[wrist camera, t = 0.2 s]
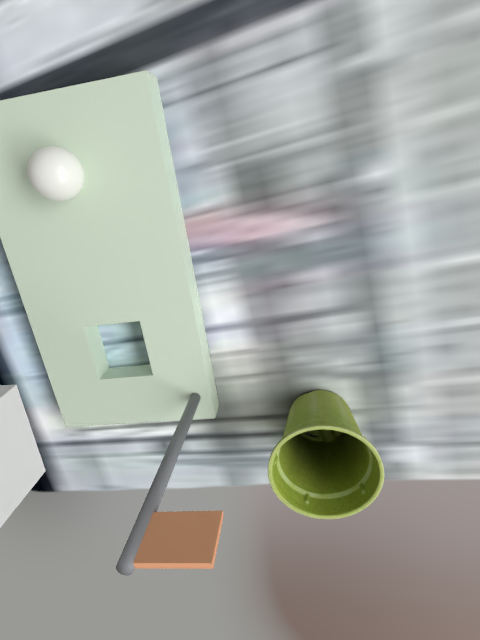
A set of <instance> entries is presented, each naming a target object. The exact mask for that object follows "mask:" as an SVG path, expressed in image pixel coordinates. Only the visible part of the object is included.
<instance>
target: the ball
mask: <svg viewBox="0 0 480 640" xmlns="http://www.w3.org/2000/svg"><path fill="white" fill-rule="evenodd" d="M27 172H28V178H29V181H30V183H31V185H32V186H33V188H34V189H35V190H36V191H37V192H38V193H39V194H40V195H42V196H43V197H45V198H47V199H50V200H53V201H66V200H70V199H72V198H74V197H75V196H76V195H78V193H79V192H80V191H81V189H82V187H83V185H84V170H83V167H82V165H81V163H80V161H79V160H78V158H77V157H76V156H75V155H74V154H72V153H71V152H70V151H68V150H66V149H64V148H62V147H57V146H46V147H43V148H41V149H39V150H37V151H36V152H35V153H34V154H33V155H32V156H31V158H30V160H29V162H28V167H27Z"/></svg>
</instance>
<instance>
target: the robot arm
mask: <svg viewBox="0 0 480 640" xmlns="http://www.w3.org/2000/svg"><path fill="white" fill-rule="evenodd" d="M44 472H45V468H44V465H43V462H42V459H41V456H40V453H39V450H38V447H37V444H36V441H35V438H34V435H33V432H32V430H31V427H30V424H29V421H28V418H27V415H26V412H25V409H24V406H23V403H22V400H21V397H20V394H19V391H18V388H17V385H0V527H1V526H2V525H3V524H4V522H5V521H6V520H7V519H8V517H9V516H10V514H12V512H13V511H14V510H15V508H16V507H17V506H18V505H19V504H20V502H21V501H22V500H23V499H24V497H25V496H26V495H27V493H28V492H29V491H30V490H31V488H32V487H33V486H34V485H35V483H36V482H37V481H38V480H39V478H40V477H41V476H42V475H43V473H44Z"/></svg>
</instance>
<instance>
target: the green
mask: <svg viewBox="0 0 480 640" xmlns="http://www.w3.org/2000/svg"><path fill="white" fill-rule="evenodd" d="M46 146H57V147H62V148H64V149H66V150H68V151H70V152H71V153H72V154H74V155H75V156H76V157H77V158H78V160H79V161H80V163H81V165H82V167H83V170H84V185H83V187H82V189H81V191H80V192H79V193H78V195H76V196H75V197H74V198H72V199H70V200H66V201H53V200H50V199H47V198H45V197H43V196H42V195H40V194H39V193H38V192H37V191H36V190H35V189H34V188H33V186H32V185H31V183H30V181H29V178H28V172H27V167H28V162H29V160H30V158H31V156H32V155H33V154H34V153H35V152H36V151H37V150H39V149H41V148H43V147H46ZM0 238H1V241H2V244H3V247H4V250H5V252H6V255H7V258H8V261H9V264H10V267H11V270H12V273H13V276H14V278H15V281H16V284H17V287H18V290H19V293H20V296H21V299H22V302H23V304H24V307H25V310H26V313H27V316H28V319H29V322H30V325H31V328H32V330H33V333H34V336H35V339H36V342H37V345H38V348H39V351H40V353H41V356H42V359H43V362H44V365H45V368H46V371H47V374H48V377H49V379H50V382H51V385H52V388H53V391H54V394H55V397H56V400H57V403H58V405H59V408H60V411H61V414H62V417H63V420H64V423H65V426H66V427H76V426H93V425H110V424H127V423H144V422H161V421H178V420H180V421H179V423H178V426H177V428H176V430H175V433H174V435H173V437H172V439H171V442H170V444H169V446H168V449H167V451H166V453H165V456H164V458H163V460H162V462H161V465H160V467H159V469H158V472H157V474H156V476H155V478H154V481H153V483H152V485H151V488H150V490H149V492H148V494H147V497H146V499H145V501H144V504H143V506H142V508H141V511H140V513H139V515H138V518H137V520H136V522H135V524H134V527H133V529H132V531H131V534H130V536H129V538H128V540H127V543H126V545H125V547H124V549H123V552H122V554H121V557H120V559H119V561H118V563H117V566H116V569H117V571H118V572H119V573H120V574H122V575H131V574H132V573H133V571H134V569H135V568H194V569H198V568H199V569H204V568H205V569H210V568H211V569H213V567H214V561H215V556H216V551H217V546H218V541H219V536H220V530H221V526H222V521H223V511H187V512H186V511H183V512H157V510H158V507H159V504H160V502H161V499H162V496H163V494H164V492H165V489H166V486H167V484H168V481H169V479H170V476H171V474H172V471H173V468H174V466H175V463H176V461H177V458H178V456H179V453H180V450H181V448H182V445H183V443H184V440H185V438H186V435H187V432H188V430H189V427H190V425H191V422H192V420H195V419H212V418H215V417H216V414H217V410H218V407H219V400H218V395H217V390H216V384H215V379H214V374H213V369H212V364H211V358H210V353H209V348H208V343H207V337H206V332H205V327H204V322H203V317H202V311H201V306H200V301H199V296H198V290H197V285H196V280H195V275H194V269H193V264H192V259H191V254H190V249H189V243H188V238H187V233H186V228H185V222H184V217H183V212H182V207H181V201H180V196H179V191H178V186H177V181H176V175H175V170H174V165H173V160H172V154H171V149H170V144H169V139H168V133H167V128H166V123H165V118H164V113H163V107H162V102H161V97H160V92H159V86H158V81H157V77H156V76H154V75H153V74H151V73H149V72H148V71H141V72H136V73H131V74H127V75H122V76H117V77H112V78H107V79H102V80H98V81H93V82H88V83H83V84H78V85H73V86H69V87H64V88H59V89H54V90H49V91H44V92H40V93H35V94H30V95H25V96H20V97H15V98H11V99H6V100H1V101H0ZM135 321H140V324H141V328H142V332H143V336H144V341H145V345H146V349H147V353H148V357H149V361H150V364H149V365H137V366H124V367H112V368H109V364H108V361H107V357H106V354H105V350H104V347H103V343H102V340H101V336H100V333H99V329H98V326H97V325H106V324H116V323H126V322H135Z"/></svg>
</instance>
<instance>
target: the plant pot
mask: <svg viewBox="0 0 480 640" xmlns="http://www.w3.org/2000/svg"><path fill="white" fill-rule="evenodd" d="M305 432H309V433H311V434H314V435H318V436H317V437H313V436H310V435H307V434H306V433H305ZM268 478H269V482H270V485H271V487H272V489H273V491H274V493H275V494H276V496H277V497H278V498H279V499H280V500H281V501H282V502H283V503H284V504H285V505H286V506H288V507H289V508H291V509H292V510H294V511H295V512H297V513H300V514H303V515H305V516H308V517H312V518H320V519H337V518H343V517H347V516H350V515H353V514H355V513H358V512H360V511H361V510H363V509H365V508H366V507H367V506H369V505H370V504H371V503H372V502H373V501H374V500H375V499H376V498H377V496H378V494H379V492H380V490H381V488H382V485H383V482H384V467H383V463H382V460H381V458H380V456H379V454H378V452H377V450H376V449H375V447H374V446H373V445H372V444H371V443H370V442H369V441H368V440H367V439H366V438H364V437H363V436H362V434H361V432H360V430H359V428H358V426H357V424H356V422H355V419H354V417H353V415H352V413H351V411H350V409H349V407H348V405H347V404H346V402H345V401H344V400H343V399H342V398H341V397H340V396H338V395H337V394H335V393H333V392H329V391H325V390H315V391H312V392H310V393H306V394H304V395H301V396H299V397H298V398H297V399H296V400H295V401H294V402H293V404H292V406H291V408H290V411H289V415H288V419H287V423H286V427H285V430H284V434H283V437H282V439H281V440H280V441H279V442H278V444H277V445H276V446H275V448H274V449H273V451H272V453H271V456H270V459H269V464H268Z"/></svg>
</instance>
